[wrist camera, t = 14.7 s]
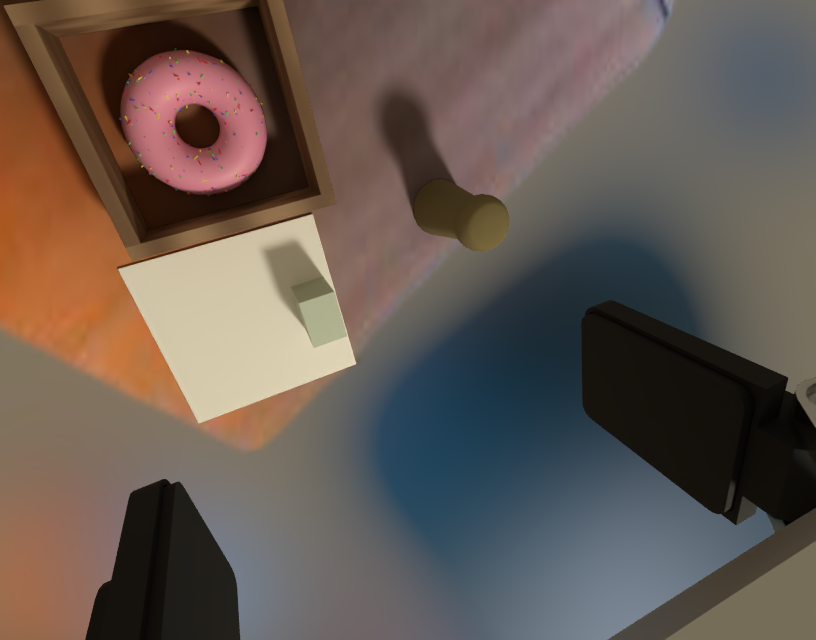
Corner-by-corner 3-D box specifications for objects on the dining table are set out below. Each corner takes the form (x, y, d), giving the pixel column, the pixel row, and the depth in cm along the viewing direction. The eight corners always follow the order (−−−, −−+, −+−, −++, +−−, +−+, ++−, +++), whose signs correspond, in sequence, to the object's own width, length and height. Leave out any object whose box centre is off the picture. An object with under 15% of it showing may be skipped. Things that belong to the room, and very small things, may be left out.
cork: (412, 236, 50) (459, 262, 41) (413, 179, 48) (463, 193, 38) (461, 232, 52) (516, 256, 43) (464, 178, 50) (523, 190, 40)
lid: (310, 212, 46) (323, 224, 41) (354, 360, 54) (368, 385, 49) (119, 266, 41) (106, 286, 36) (198, 419, 49) (197, 452, 44)
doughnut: (271, 75, 40) (277, 71, 36) (257, 202, 43) (261, 209, 39) (126, 33, 35) (116, 23, 31) (122, 179, 38) (114, 184, 35)
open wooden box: (266, -12, 37) (274, -32, 32) (323, 195, 45) (336, 203, 40) (33, 22, 33) (3, 5, 28) (141, 245, 40) (132, 260, 36)
